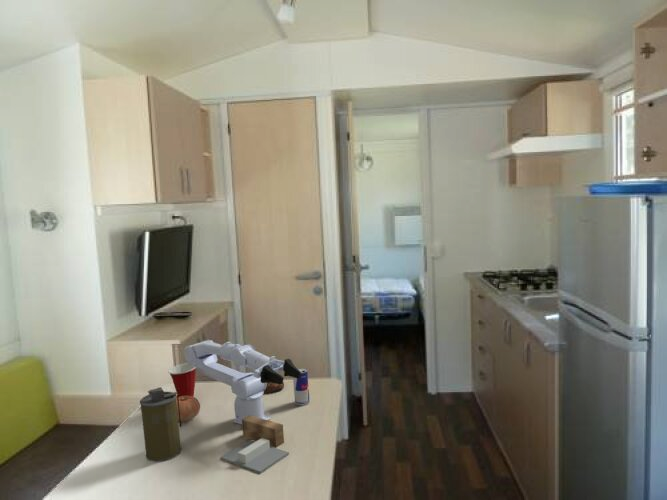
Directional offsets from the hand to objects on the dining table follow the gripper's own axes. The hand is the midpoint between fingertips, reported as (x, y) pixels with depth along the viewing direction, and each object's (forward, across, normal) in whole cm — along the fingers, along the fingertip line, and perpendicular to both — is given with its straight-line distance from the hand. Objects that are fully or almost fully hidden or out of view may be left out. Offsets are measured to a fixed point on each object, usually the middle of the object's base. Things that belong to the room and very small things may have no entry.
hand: (291, 378), depth 163 cm
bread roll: (-33, +26, +23) cm, 48 cm away
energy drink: (-13, +22, +20) cm, 33 cm away
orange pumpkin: (-38, -10, +27) cm, 48 cm away
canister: (-23, -27, +26) cm, 44 cm away
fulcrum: (+2, -14, +20) cm, 25 cm away
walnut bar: (-4, -5, +21) cm, 22 cm away
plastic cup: (-55, +2, +28) cm, 62 cm away
